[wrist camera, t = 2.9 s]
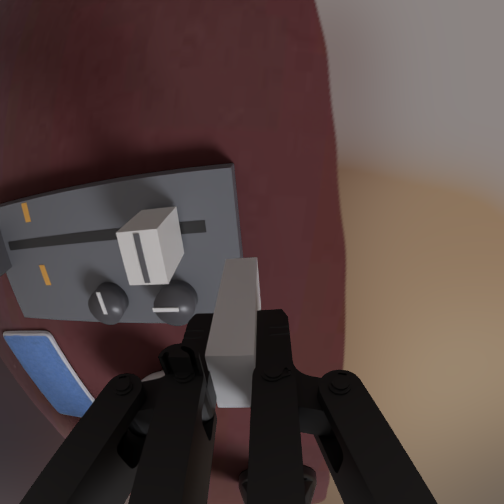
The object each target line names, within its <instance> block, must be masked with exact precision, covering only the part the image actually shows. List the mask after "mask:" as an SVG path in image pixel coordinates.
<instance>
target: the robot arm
mask: <svg viewBox="0 0 504 504" xmlns="http://www.w3.org/2000/svg"><path fill="white" fill-rule="evenodd" d="M158 358H159V360H160V363H161V366H162V368H163V371H164V373H165V376H163V377H161V378H157V379H153V380H148V381H143V382H142V381H141V380H140V378H139V377H138V376H136V375H134V374H128V373H126V374H120V375H118V376H116V377H114V378H113V379H112V380H110V381H109V382H108V384H107V385H106V386H105V388H104V389H103V390H102V391H101V393H100V394H99V395H98V397H97V398H96V399H95V401H94V402H93V403H92V405H91V406H90V407H89V409H88V410H87V411H86V412H85V414H84V415H83V416H82V418H81V419H80V420H79V422H78V423H77V424H76V426H75V427H74V428H73V430H72V431H71V432H70V434H69V435H68V437H67V438H66V439H65V441H64V442H63V444H62V445H61V446H60V447H59V449H58V450H57V451H56V453H55V454H54V456H53V457H52V458H51V460H50V461H49V463H48V464H47V465H46V467H45V468H44V470H43V471H42V472H41V474H40V475H39V476H38V478H37V479H36V481H35V482H34V484H33V485H32V486H31V488H30V489H29V491H28V492H27V494H26V495H25V496H24V498H23V499H22V501H21V502H20V504H124V503H125V501H126V499H127V497H128V496H129V494H130V492H131V495H130V499H129V503H128V504H207V499H208V490H209V481H210V473H211V464H212V456H213V448H214V440H215V432H216V423H217V416H216V412H215V406H216V401H217V405H218V407H251V417H250V440H249V462H248V470H245V471H244V472H242V473H241V474H240V475H239V490H240V493H241V496H242V498H243V501H244V504H311V501H312V498H313V494H314V491H315V487H316V482H317V481H316V473H315V471H314V470H313V469H311V468H309V467H306V466H303V459H302V446H301V434H300V432H303V433H309V434H314V436H315V439H316V441H317V443H318V445H319V448H320V450H321V452H322V455H323V457H324V459H325V461H326V464H327V466H328V468H329V471H330V473H331V475H332V477H333V480H334V482H335V484H336V486H337V488H338V491H339V493H340V495H341V498H342V500H343V502H344V504H437V502H436V500H435V499H434V497H433V495H432V494H431V492H430V490H429V489H428V487H427V485H426V484H425V482H424V481H423V479H422V477H421V476H420V474H419V472H418V471H417V470H416V467H415V466H414V464H413V462H412V461H411V459H410V458H409V456H408V454H407V453H406V451H405V450H404V448H403V446H402V445H401V443H400V442H399V440H398V438H397V437H396V435H395V434H394V432H393V430H392V429H391V427H390V426H389V424H388V422H387V421H386V419H385V418H384V416H383V415H382V413H381V411H380V410H379V408H378V407H377V405H376V404H375V402H374V400H373V399H372V397H371V396H370V394H369V393H368V391H367V389H366V388H365V386H364V385H363V383H362V382H361V380H360V379H359V378H358V377H357V376H356V375H355V374H354V373H352V372H349V371H346V370H334V371H331V372H328V373H326V374H325V375H324V376H323V377H322V378H318V377H312V376H308V375H305V374H303V373H301V372H300V371H299V370H297V369H296V367H295V366H294V364H293V361H292V351H291V342H290V332H289V323H288V316H287V315H286V314H285V313H284V311H283V310H282V309H276V310H261V301H260V288H259V276H258V263H257V257H253V258H236V259H226V261H225V265H224V270H223V274H222V278H221V283H220V287H219V292H218V296H217V301H216V306H215V310H214V313H198V314H195V315H194V316H193V317H192V318H191V319H190V320H189V321H188V325H187V328H186V332H185V334H184V339H183V341H182V343H180V344H174V345H171V346H169V347H167V348H165V349H164V350H163V351H162V352H161V353H160V355H159V356H158ZM131 490H132V491H131Z"/></svg>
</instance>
